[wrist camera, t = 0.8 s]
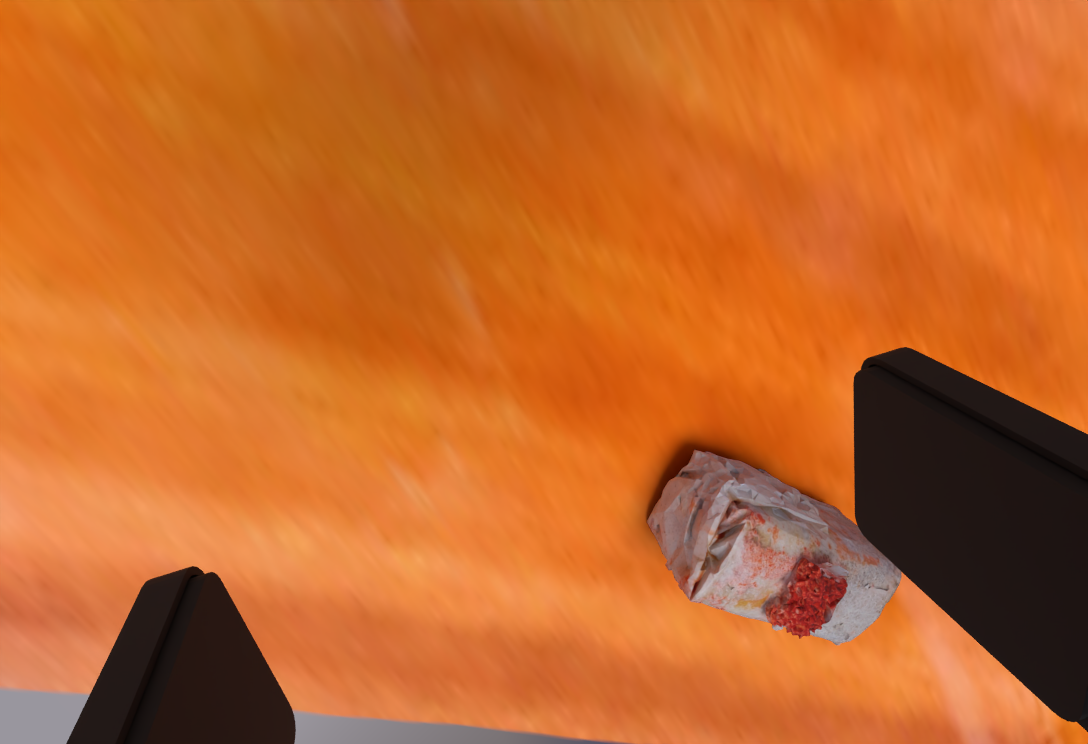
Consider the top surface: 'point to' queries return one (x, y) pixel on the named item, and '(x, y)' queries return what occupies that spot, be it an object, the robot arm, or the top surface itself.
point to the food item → (769, 551)
